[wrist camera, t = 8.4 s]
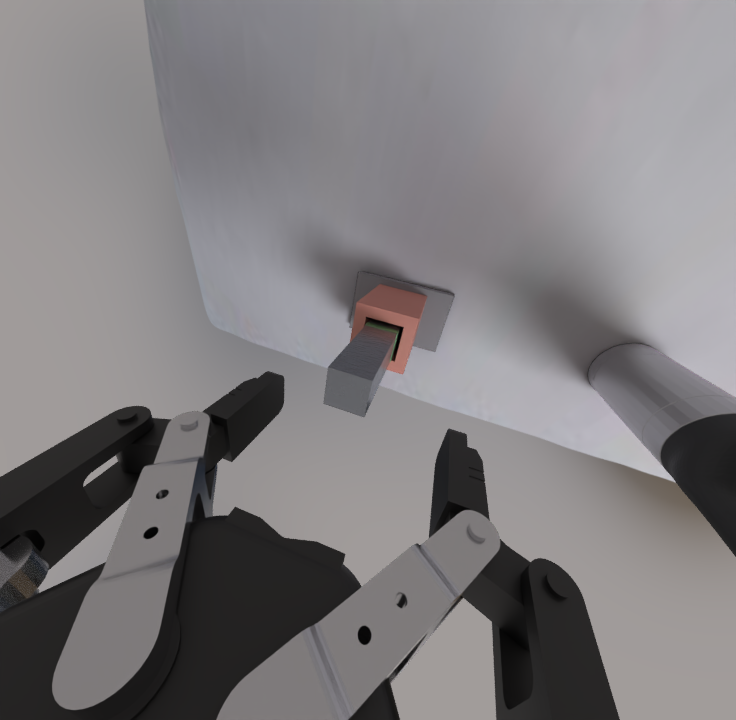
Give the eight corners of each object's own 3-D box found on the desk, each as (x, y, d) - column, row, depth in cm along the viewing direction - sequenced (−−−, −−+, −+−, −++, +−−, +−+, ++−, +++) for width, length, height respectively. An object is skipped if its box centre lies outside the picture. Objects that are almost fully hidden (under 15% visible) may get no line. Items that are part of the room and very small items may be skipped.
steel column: (406, 316, 38) (373, 380, 22) (399, 342, 40) (364, 418, 24) (378, 309, 39) (327, 366, 23) (373, 334, 41) (322, 403, 25)
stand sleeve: (454, 294, 43) (455, 322, 30) (435, 348, 48) (429, 393, 35) (360, 270, 45) (324, 287, 33) (352, 324, 50) (317, 358, 37)
